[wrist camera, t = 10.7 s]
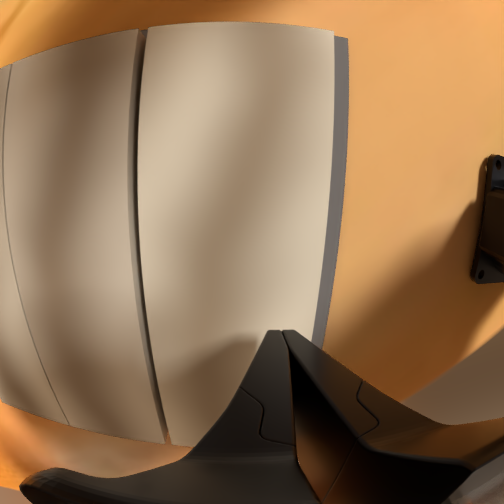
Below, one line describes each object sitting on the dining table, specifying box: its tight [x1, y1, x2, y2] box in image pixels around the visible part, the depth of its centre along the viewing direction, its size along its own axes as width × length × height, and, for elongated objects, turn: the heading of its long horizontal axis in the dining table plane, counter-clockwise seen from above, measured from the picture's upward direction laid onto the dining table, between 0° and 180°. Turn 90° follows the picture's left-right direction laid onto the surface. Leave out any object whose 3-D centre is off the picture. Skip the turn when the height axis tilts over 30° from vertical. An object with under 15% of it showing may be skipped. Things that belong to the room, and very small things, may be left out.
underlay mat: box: [140, 30, 349, 350], centre depth 11 cm, size 19×18×1 cm
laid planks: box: [0, 29, 168, 444], centre depth 10 cm, size 12×18×1 cm, turn 178°
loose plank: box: [138, 22, 334, 447], centre depth 10 cm, size 6×18×1 cm, turn 178°
